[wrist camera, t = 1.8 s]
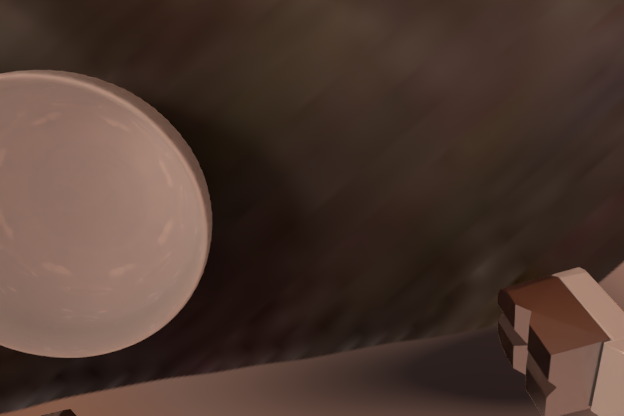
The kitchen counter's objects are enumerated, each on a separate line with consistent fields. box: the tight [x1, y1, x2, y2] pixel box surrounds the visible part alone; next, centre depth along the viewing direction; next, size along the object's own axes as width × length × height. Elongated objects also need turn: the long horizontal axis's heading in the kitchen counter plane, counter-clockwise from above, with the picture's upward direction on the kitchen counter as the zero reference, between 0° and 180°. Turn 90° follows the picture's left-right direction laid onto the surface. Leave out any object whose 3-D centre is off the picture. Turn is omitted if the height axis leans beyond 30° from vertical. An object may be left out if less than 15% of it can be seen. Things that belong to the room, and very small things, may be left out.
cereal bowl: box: [0, 70, 213, 358], centre depth 31 cm, size 17×17×7 cm
